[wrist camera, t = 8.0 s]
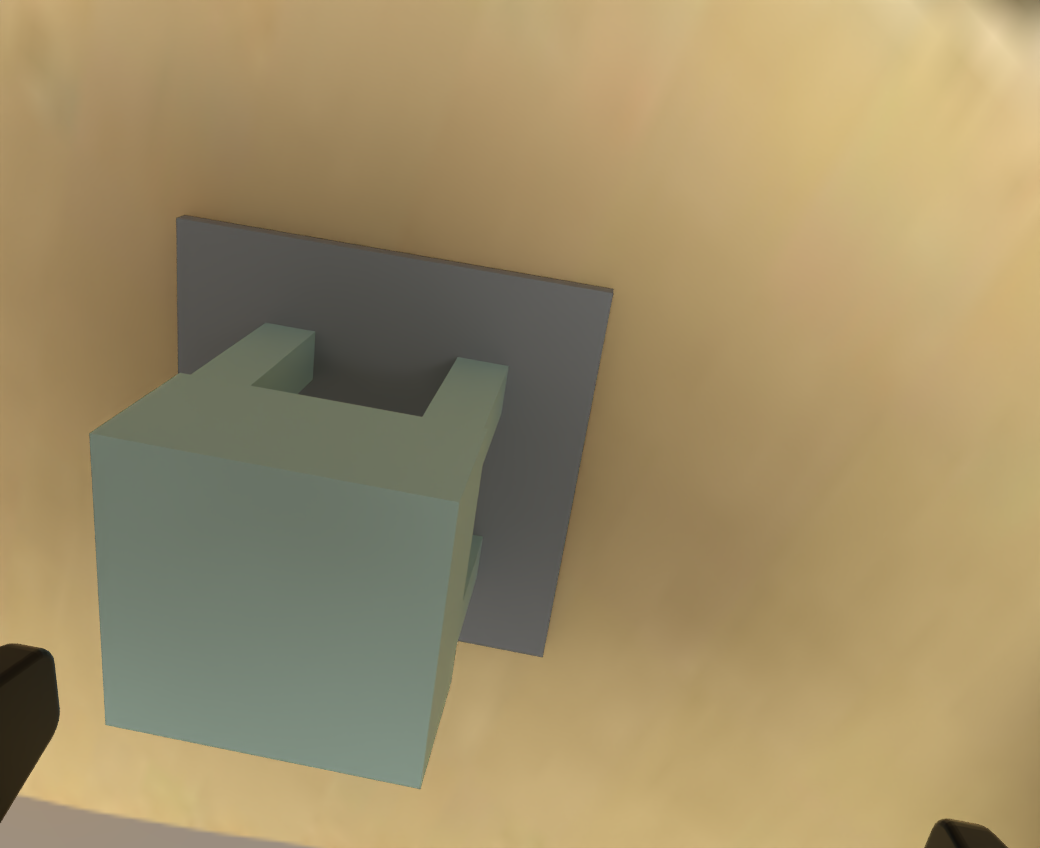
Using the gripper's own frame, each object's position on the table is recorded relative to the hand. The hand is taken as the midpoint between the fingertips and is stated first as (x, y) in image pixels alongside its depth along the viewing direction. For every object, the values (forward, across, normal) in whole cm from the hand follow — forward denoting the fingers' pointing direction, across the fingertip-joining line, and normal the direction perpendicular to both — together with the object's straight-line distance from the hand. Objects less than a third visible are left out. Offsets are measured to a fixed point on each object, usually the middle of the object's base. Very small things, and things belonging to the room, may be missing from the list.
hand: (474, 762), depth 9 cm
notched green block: (+12, +4, +3) cm, 13 cm away
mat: (+12, +4, +3) cm, 13 cm away
